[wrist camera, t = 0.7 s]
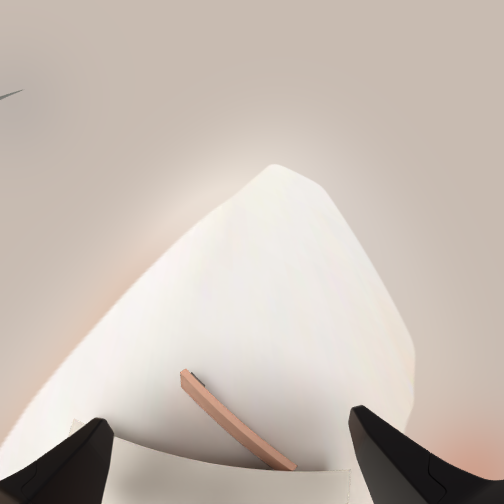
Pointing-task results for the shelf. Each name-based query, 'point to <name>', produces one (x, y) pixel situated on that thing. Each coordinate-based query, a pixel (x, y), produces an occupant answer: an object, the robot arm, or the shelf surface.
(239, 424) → the side door
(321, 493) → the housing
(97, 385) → the shelf surface
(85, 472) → the robot arm
